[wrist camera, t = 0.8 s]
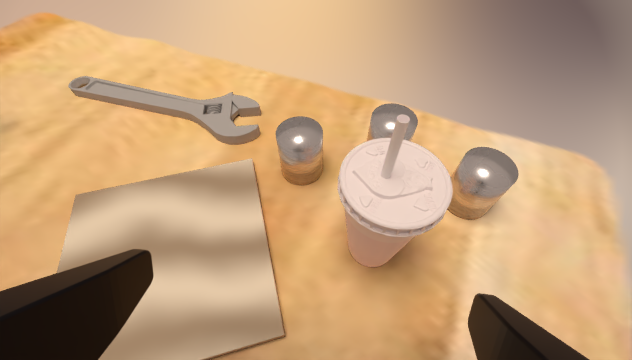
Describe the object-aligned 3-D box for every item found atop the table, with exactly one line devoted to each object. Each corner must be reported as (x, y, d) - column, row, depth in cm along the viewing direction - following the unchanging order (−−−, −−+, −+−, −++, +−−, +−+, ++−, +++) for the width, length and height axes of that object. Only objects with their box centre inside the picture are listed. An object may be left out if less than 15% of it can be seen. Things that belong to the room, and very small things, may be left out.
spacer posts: (489, 223, 25) (521, 192, 21) (276, 180, 28) (269, 145, 24) (482, 157, 30) (508, 121, 26) (298, 126, 32) (295, 88, 28)
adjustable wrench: (71, 98, 36) (61, 86, 35) (109, 69, 40) (101, 57, 38) (247, 152, 31) (243, 140, 29) (274, 113, 34) (272, 101, 33)
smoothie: (338, 205, 27) (353, 69, 15) (410, 218, 26) (484, 84, 14) (325, 275, 23) (332, 165, 11) (408, 292, 22) (505, 192, 11)
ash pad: (285, 336, 20) (284, 334, 20) (33, 411, 18) (22, 412, 18) (253, 163, 29) (252, 158, 29) (81, 199, 27) (75, 194, 26)
